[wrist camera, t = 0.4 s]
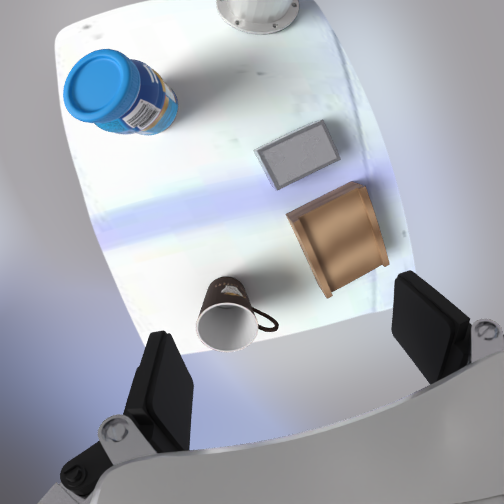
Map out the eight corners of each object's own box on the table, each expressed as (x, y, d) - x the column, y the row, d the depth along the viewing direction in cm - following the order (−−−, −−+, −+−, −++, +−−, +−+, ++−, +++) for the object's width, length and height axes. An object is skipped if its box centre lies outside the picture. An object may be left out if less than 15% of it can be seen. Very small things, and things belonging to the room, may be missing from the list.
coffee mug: (190, 297, 47) (183, 332, 38) (221, 260, 45) (221, 291, 36) (243, 331, 50) (247, 368, 41) (275, 299, 49) (286, 334, 39)
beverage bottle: (126, 140, 37) (54, 141, 18) (125, 88, 34) (56, 55, 15) (181, 132, 37) (142, 121, 19) (179, 78, 34) (142, 28, 16)
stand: (285, 214, 43) (292, 222, 39) (351, 181, 42) (365, 186, 38) (318, 284, 48) (327, 298, 44) (376, 253, 47) (389, 264, 43)
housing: (253, 150, 40) (256, 150, 34) (312, 122, 39) (323, 119, 34) (271, 185, 42) (277, 190, 37) (328, 157, 41) (341, 159, 36)
